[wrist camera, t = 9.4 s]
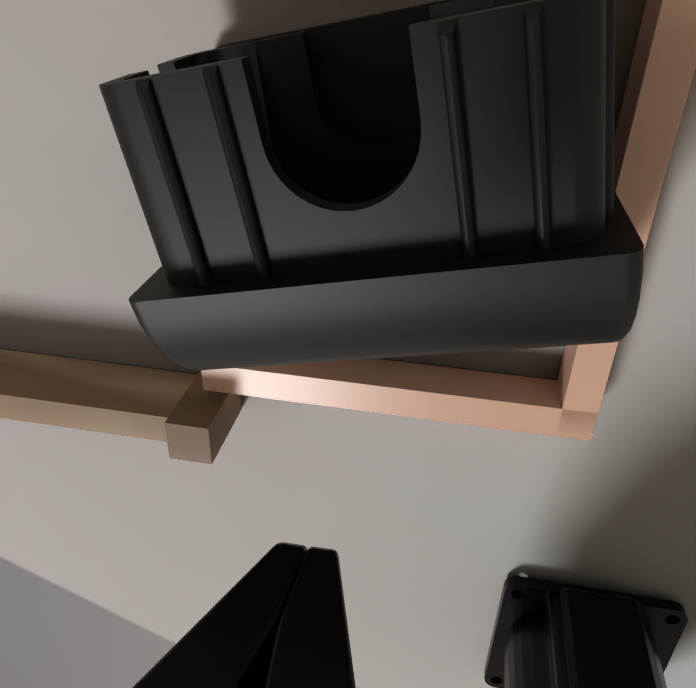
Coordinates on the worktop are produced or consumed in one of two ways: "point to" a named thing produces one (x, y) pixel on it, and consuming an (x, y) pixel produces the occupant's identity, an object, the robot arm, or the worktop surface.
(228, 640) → the robot arm
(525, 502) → the worktop surface
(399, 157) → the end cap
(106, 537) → the worktop surface
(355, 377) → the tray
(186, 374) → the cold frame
